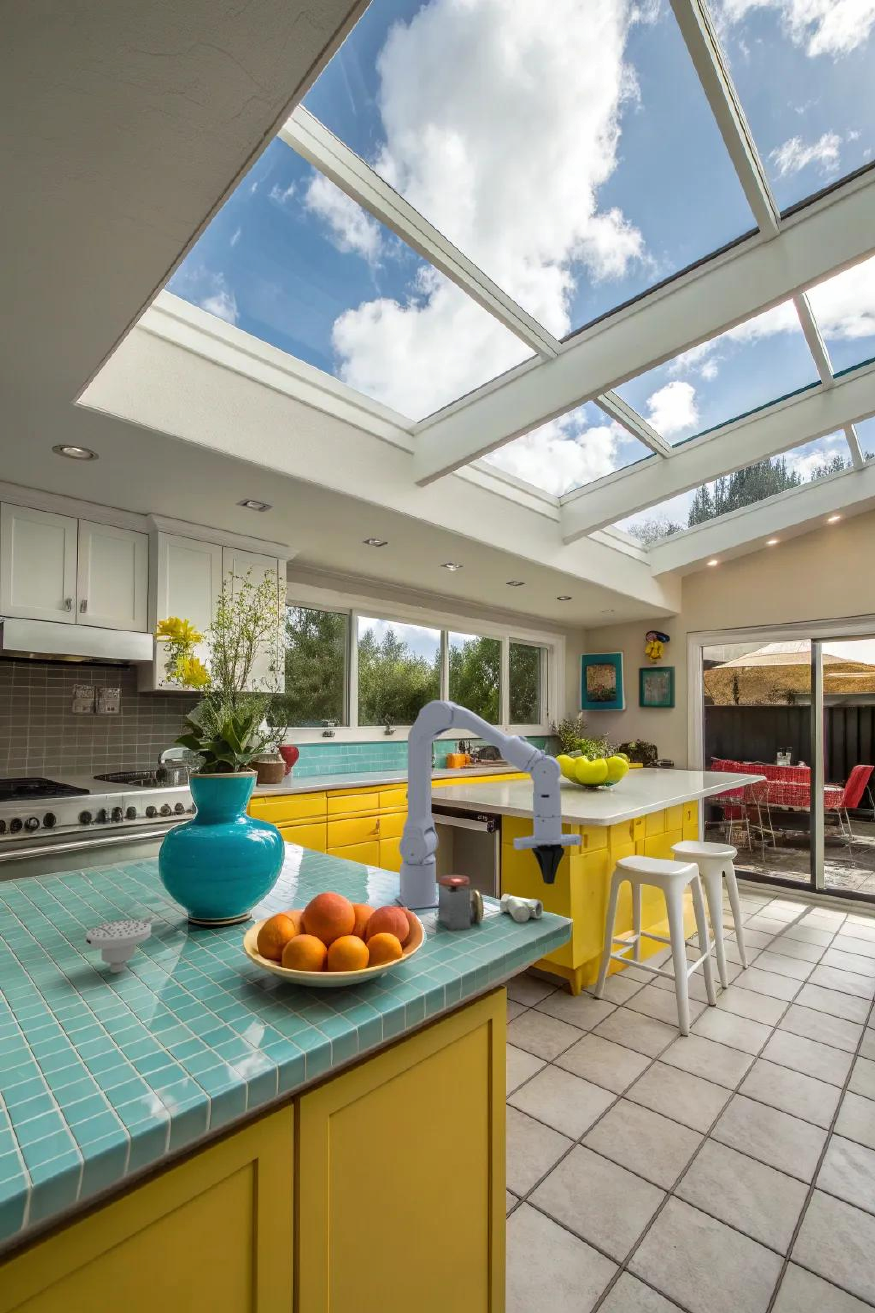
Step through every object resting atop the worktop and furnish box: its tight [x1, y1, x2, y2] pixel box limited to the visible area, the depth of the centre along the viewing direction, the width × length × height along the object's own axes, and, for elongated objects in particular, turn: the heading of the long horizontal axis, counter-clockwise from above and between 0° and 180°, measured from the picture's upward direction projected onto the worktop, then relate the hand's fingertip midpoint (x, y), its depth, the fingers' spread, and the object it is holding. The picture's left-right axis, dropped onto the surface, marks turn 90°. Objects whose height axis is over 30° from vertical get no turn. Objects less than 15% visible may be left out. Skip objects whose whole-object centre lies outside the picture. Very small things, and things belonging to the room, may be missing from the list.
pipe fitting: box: [499, 893, 544, 923], centre depth 133 cm, size 8×4×7 cm
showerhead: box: [85, 916, 153, 974], centre depth 106 cm, size 9×7×10 cm
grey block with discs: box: [438, 874, 485, 931], centre depth 129 cm, size 7×8×9 cm
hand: (548, 883), depth 135 cm, fingers closed
